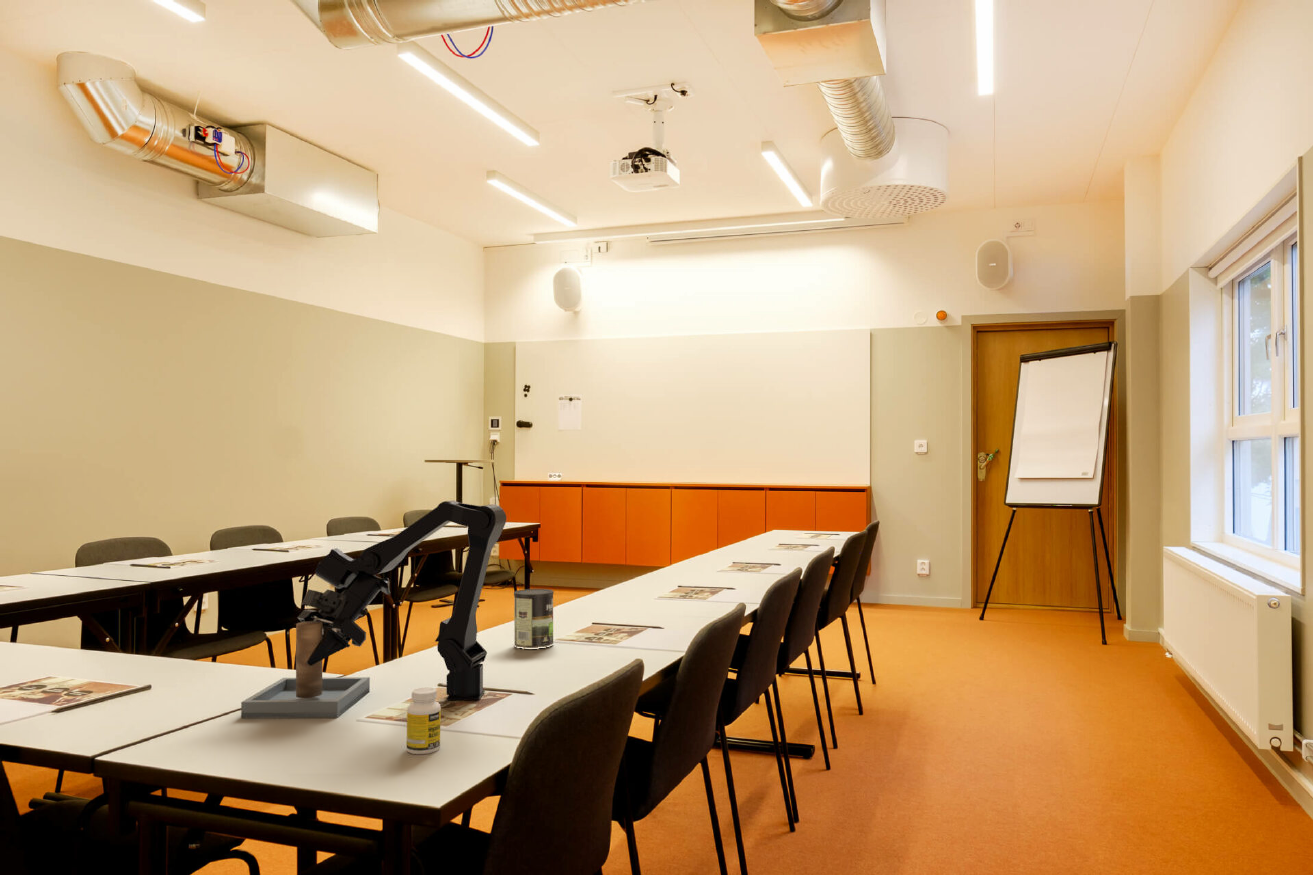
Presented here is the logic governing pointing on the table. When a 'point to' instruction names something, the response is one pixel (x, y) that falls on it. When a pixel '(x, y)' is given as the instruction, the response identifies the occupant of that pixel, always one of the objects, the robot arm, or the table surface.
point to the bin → (306, 699)
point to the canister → (305, 645)
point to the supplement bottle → (423, 722)
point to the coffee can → (533, 618)
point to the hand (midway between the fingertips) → (302, 662)
